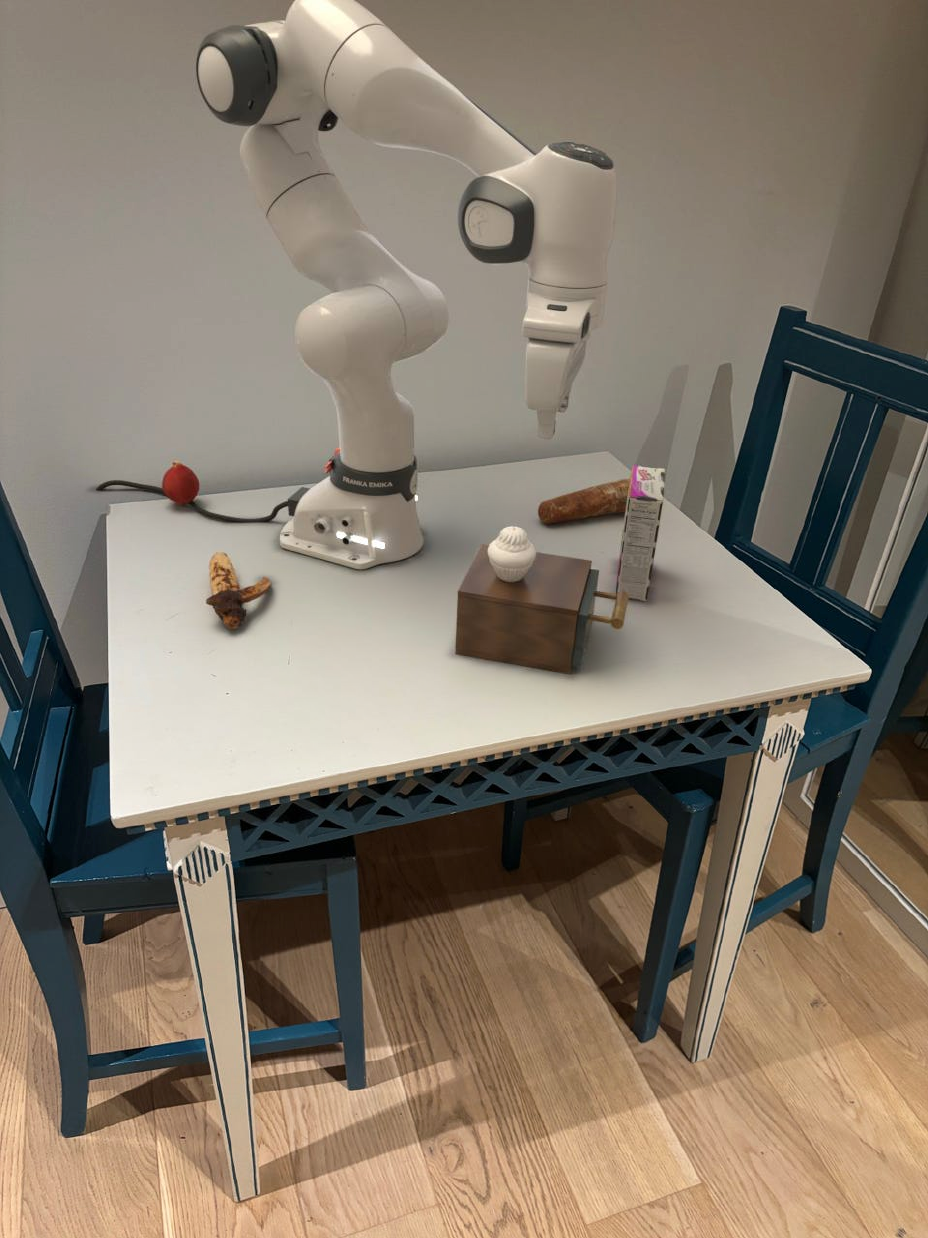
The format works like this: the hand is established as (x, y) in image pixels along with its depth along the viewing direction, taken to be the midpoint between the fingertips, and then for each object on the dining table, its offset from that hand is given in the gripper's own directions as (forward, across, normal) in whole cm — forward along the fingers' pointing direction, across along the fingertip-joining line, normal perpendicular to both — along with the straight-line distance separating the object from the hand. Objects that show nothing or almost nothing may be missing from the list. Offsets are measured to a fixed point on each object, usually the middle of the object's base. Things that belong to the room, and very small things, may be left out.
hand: (553, 422), depth 108 cm
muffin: (+19, +6, -3) cm, 20 cm away
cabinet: (+28, +5, -1) cm, 29 cm away
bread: (+29, -35, +3) cm, 45 cm away
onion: (+29, -16, -63) cm, 71 cm away
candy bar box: (+29, -15, +12) cm, 34 cm away
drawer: (+27, +5, +3) cm, 28 cm away
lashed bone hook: (+29, +8, -41) cm, 50 cm away
